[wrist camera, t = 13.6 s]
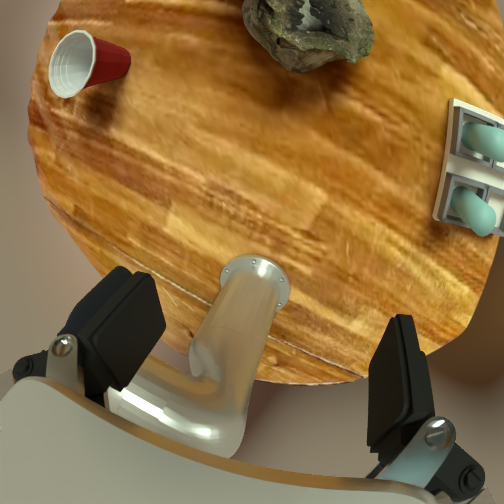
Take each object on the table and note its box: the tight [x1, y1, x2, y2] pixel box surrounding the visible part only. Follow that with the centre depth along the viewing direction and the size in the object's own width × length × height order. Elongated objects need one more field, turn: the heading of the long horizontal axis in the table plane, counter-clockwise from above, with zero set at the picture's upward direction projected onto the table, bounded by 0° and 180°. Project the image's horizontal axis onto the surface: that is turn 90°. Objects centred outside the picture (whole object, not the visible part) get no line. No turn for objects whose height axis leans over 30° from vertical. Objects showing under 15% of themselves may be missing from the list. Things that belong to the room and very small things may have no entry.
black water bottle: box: [42, 266, 132, 352], centre depth 45 cm, size 6×6×30 cm
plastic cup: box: [49, 30, 131, 98], centre depth 28 cm, size 11×11×12 cm
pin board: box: [432, 98, 504, 237], centre depth 23 cm, size 18×14×10 cm
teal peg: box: [461, 122, 504, 163], centre depth 21 cm, size 4×4×8 cm
